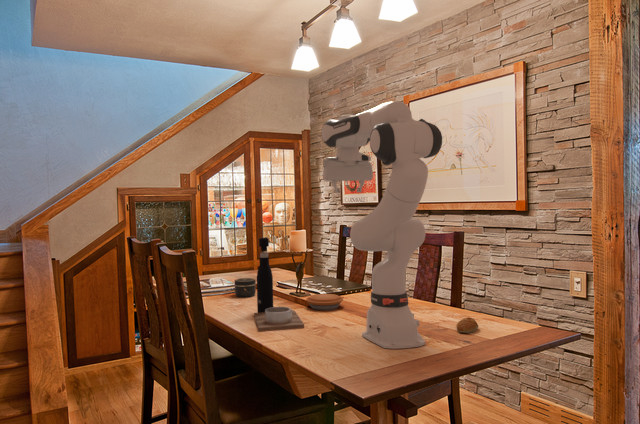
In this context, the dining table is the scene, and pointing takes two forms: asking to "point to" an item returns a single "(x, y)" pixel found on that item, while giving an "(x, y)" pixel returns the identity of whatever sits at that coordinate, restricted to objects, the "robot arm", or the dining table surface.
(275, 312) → the grey bowl
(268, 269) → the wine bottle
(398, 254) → the robot arm
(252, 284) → the jar
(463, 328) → the pastry
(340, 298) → the pie
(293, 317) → the walnut board
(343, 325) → the dining table surface
